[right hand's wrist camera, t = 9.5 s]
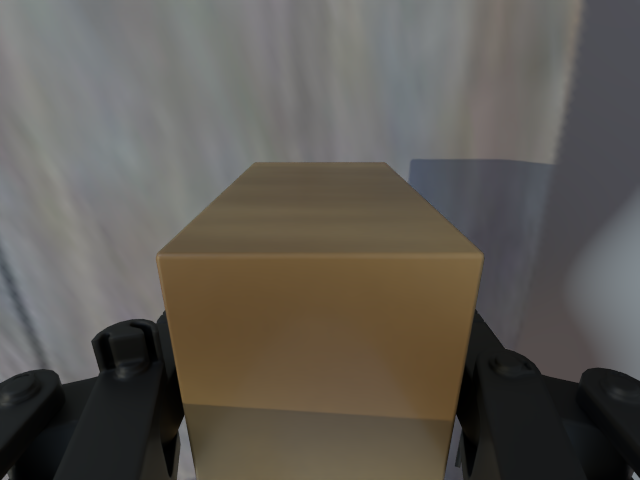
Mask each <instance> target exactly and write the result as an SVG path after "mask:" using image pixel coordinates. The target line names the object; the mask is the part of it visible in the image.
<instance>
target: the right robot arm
mask: <svg viewBox="0 0 640 480" xmlns="http://www.w3.org/2000/svg"><path fill="white" fill-rule="evenodd" d="M91 342H92V346H93V349H94V353H95V356H96V360H97V363H98V367H99V370H100V373H99V376H97V377H94V378H90V379H86V380H81V381H76V382H72V383H67V384H63V385H62V384H61V381H60V378H59V375H58V374H57V373H55V372H54V371H52V370H46V369H40V370H33V371H28V372H24V373H22V374H18V375H15V376H13V377H11V378H9V379H8V380H6V381H4V382H2V383H0V480H2V478H3V477H4V476H5V475H6V474H8V476H9V479H8V480H177V472H178V463H179V454H180V445H181V444H180V437H179V432H178V429H179V426H180V424H181V422H182V420H183V417H184V415H185V414H184V408H183V403H182V397H181V392H180V386H179V381H178V376H177V370H176V365H175V359H174V354H173V349H172V343H171V338H170V332H169V327H168V321H167V316H166V311H164V312H163V315H161V316H160V318H159V319H158V320H157V323H154V322H153V321H150V320H145V319H132V320H127V321H123V322H119V323H117V324H114V325H112V326H109V327H107V328H106V329H104V330H103V331H101V332H100V333H98V334H97V335H96V336H95V337H94V339H93V340H92V341H91ZM456 415H457V417H458V419H459V422H460V424H461V426H462V432H461V437H460V442H459V447H458V452H457V457H456V463H455V467H459V468H460V465H461V462H462V471H463V480H634V479H633V478H632V475H633V472H635V473H636V474H637V475H638V477H639V478H640V381H639V380H637V379H635V378H633V377H631V376H629V375H627V374H624V373H622V372H618V371H615V370H611V369H604V368H592V369H587V370H586V371H585V372H584V373H583V374H582V376H581V379H580V382H579V383H575V382H571V381H566V380H562V379H557V378H553V377H548V376H545V375H541V373H540V371H539V370H538V368H537V367H536V365H535V364H534V363H533V362H531V361H530V360H529V359H527V358H526V357H525V356H523V355H521V354H519V353H516V352H514V351H511V350H507V349H505V348H504V347H503V345H502V344H501V343H500V341H499V340H498V339H497V337H496V336H495V335H494V333H493V332H492V331H491V329H490V328H489V327H488V325H487V324H486V323H485V322H484V320H483V319H482V317H481V316H480V315H479V314H478V313H477V311H476V309H475V313H474V318H473V323H472V329H471V334H470V340H469V345H468V351H467V356H466V362H465V367H464V372H463V378H462V383H461V389H460V394H459V400H458V405H457V411H456Z"/></svg>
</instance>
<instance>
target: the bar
mask: <svg viewBox="0 0 640 480" xmlns="http://www.w3.org/2000/svg"><path fill="white" fill-rule="evenodd" d="M156 262H157V267H158V273H159V278H160V283H161V289H162V294H163V300H164V305H165V311H166V316H167V321H168V327H169V332H170V338H171V343H172V349H173V354H174V359H175V365H176V370H177V376H178V381H179V386H180V392H181V397H182V403H183V408H184V414H185V419H186V424H187V430H188V435H189V441H190V446H191V452H192V457H193V462H194V468H195V473H196V479H197V480H444V476H445V471H446V465H447V460H448V454H449V449H450V443H451V438H452V432H453V427H454V422H455V416H456V411H457V405H458V400H459V394H460V389H461V383H462V378H463V372H464V367H465V362H466V356H467V351H468V345H469V340H470V334H471V329H472V323H473V318H474V313H475V307H476V302H477V296H478V291H479V285H480V280H481V274H482V269H483V264H484V254H483V252H481V251H480V250H479V249H478V248H477V247H476V246H475V245H474V244H473V243H472V242H471V241H470V240H468V239H467V238H466V237H465V236H464V235H463V234H462V233H461V232H460V231H459V230H458V229H457V228H456V227H454V226H453V225H452V224H451V223H450V222H449V221H448V220H447V219H446V218H445V217H444V216H443V215H441V214H440V213H439V212H438V211H437V210H436V209H435V208H434V207H433V206H432V205H431V204H430V203H429V202H427V201H426V200H425V199H424V198H423V197H422V196H421V195H420V194H419V193H418V192H417V191H416V190H414V189H413V188H412V187H411V186H410V185H409V184H408V183H407V182H406V181H405V180H404V179H403V178H402V177H400V176H399V175H398V174H397V173H396V172H395V171H394V170H393V169H392V168H391V167H390V166H389V165H387V164H386V163H385V162H256V163H254V164H252V165H251V166H250V167H249V168H248V169H247V170H246V171H245V172H244V173H243V174H242V175H241V176H240V177H239V178H237V179H236V180H235V181H234V182H233V183H232V184H231V185H230V186H229V187H228V188H227V189H226V190H225V191H224V192H222V193H221V194H220V195H219V196H218V197H217V198H216V199H215V200H214V201H213V202H212V203H211V204H210V205H209V206H207V207H206V208H205V209H204V210H203V211H202V212H201V213H200V214H199V215H198V216H197V217H196V218H195V219H193V220H192V221H191V222H190V223H189V224H188V225H187V226H186V227H185V228H184V229H183V230H182V231H181V232H180V233H178V234H177V235H176V236H175V237H174V238H173V239H172V240H171V241H170V242H169V243H168V244H167V245H166V246H165V247H163V248H162V249H161V250H160V251H159V252H158V253H157V256H156Z"/></svg>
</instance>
